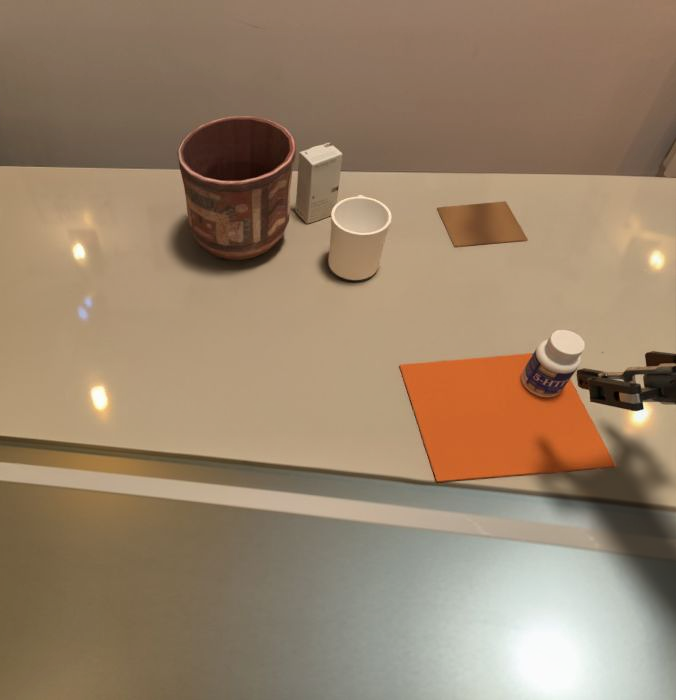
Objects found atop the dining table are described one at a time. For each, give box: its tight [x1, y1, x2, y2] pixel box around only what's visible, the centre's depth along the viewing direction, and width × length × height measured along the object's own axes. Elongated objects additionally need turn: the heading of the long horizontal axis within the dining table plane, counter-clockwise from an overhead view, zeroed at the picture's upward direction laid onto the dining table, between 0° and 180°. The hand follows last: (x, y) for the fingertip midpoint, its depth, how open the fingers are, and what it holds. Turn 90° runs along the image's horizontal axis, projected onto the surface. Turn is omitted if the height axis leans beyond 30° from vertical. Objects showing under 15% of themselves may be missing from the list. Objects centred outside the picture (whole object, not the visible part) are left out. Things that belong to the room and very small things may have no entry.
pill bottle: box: [521, 329, 586, 397], centre depth 79 cm, size 5×5×9 cm
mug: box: [327, 194, 392, 283], centre depth 96 cm, size 11×9×10 cm
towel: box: [399, 352, 617, 483], centre depth 80 cm, size 22×18×1 cm
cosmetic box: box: [295, 142, 344, 224], centre depth 103 cm, size 6×4×12 cm
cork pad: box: [436, 200, 528, 248], centre depth 103 cm, size 12×10×1 cm
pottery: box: [177, 115, 297, 261], centre depth 98 cm, size 18×18×18 cm
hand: (614, 369), depth 69 cm, fingers open, 8 cm apart
